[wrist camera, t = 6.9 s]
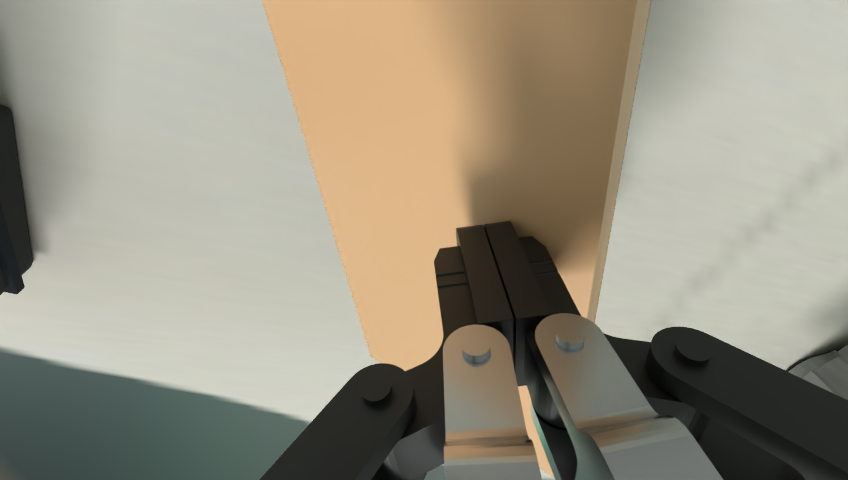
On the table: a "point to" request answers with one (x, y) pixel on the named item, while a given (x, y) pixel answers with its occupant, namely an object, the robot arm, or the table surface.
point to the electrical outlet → (826, 371)
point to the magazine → (11, 212)
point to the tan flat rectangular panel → (460, 140)
